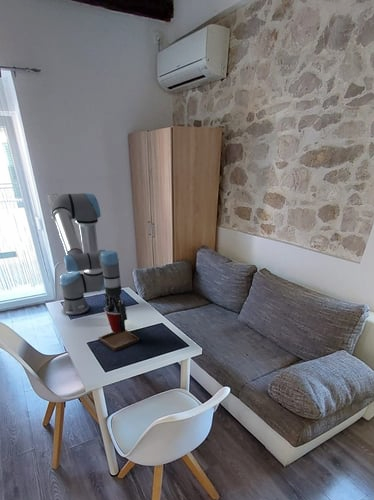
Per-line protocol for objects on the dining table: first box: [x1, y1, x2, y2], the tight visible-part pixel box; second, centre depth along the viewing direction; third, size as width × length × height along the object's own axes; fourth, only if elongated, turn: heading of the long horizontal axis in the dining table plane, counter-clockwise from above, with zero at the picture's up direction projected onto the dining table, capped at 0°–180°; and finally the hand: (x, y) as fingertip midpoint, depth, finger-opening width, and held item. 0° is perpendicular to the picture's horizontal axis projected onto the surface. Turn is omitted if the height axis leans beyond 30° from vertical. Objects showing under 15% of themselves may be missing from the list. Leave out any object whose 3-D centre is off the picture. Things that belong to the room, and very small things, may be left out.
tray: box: [98, 329, 140, 352], centre depth 163 cm, size 15×15×2 cm
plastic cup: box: [103, 305, 127, 332], centre depth 157 cm, size 11×11×12 cm
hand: (118, 328), depth 160 cm, fingers closed on plastic cup, 8 cm apart
